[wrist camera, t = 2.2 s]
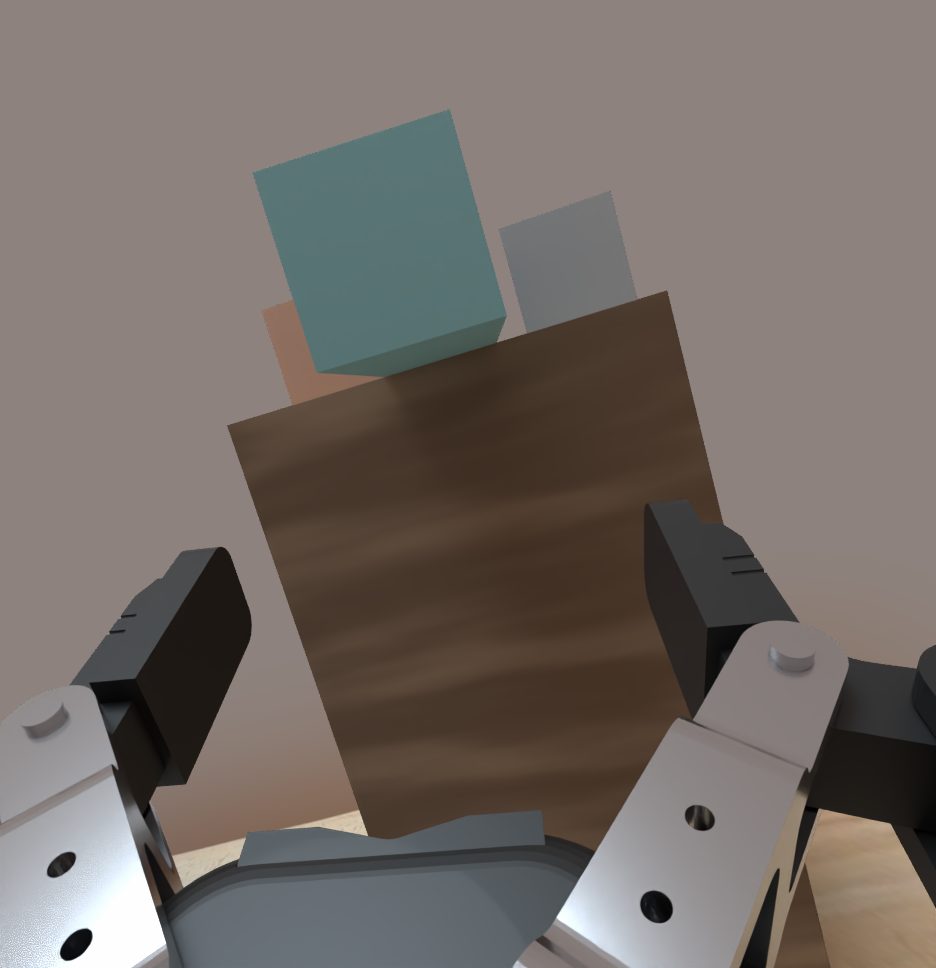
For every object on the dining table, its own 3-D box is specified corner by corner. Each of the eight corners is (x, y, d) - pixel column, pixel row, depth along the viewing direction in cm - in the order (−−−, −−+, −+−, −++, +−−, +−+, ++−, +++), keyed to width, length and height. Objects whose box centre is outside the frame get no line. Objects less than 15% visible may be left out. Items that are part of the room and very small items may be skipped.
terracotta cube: (389, 382, 28) (357, 278, 28) (294, 411, 29) (261, 310, 29) (412, 379, 33) (385, 289, 32) (329, 404, 34) (301, 317, 33)
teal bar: (507, 315, 13) (449, 109, 13) (316, 372, 13) (252, 172, 13) (490, 358, 37) (470, 287, 36) (421, 379, 37) (400, 308, 37)
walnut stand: (866, 1117, 25) (667, 290, 21) (470, 1135, 29) (227, 425, 24) (762, 839, 40) (631, 316, 36) (507, 873, 43) (359, 398, 39)
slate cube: (639, 306, 26) (610, 190, 26) (528, 339, 27) (498, 229, 26) (631, 312, 30) (606, 214, 30) (536, 341, 31) (510, 246, 31)
